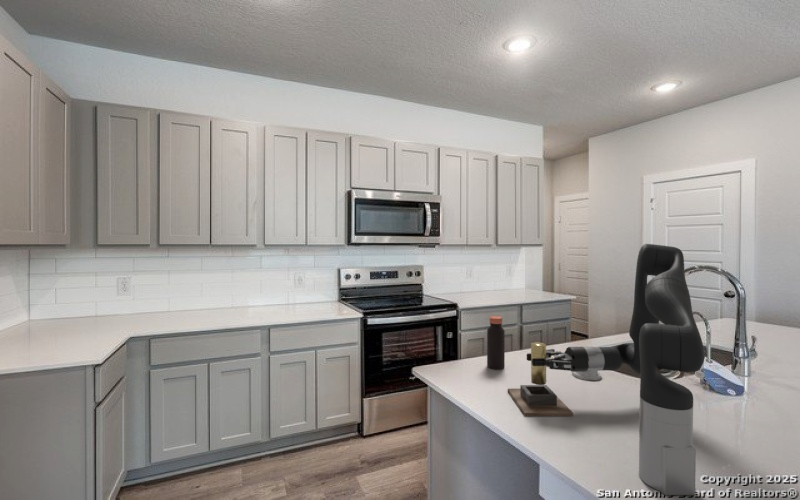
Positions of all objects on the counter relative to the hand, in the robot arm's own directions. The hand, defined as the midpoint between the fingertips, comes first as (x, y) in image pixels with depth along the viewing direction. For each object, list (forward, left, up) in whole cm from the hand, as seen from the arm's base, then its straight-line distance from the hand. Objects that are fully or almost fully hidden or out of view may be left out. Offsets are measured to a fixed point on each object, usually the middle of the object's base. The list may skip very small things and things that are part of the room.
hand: (529, 359), depth 120 cm
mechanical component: (+24, -29, -14) cm, 40 cm away
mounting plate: (0, -3, -14) cm, 14 cm away
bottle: (+34, +2, -14) cm, 37 cm away
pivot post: (0, -3, -7) cm, 8 cm away
